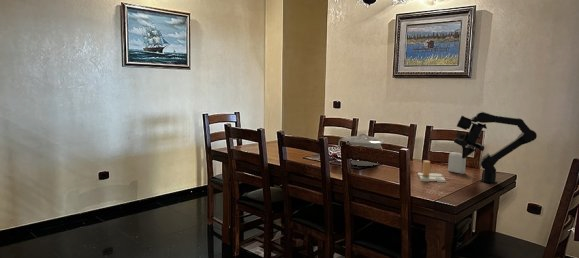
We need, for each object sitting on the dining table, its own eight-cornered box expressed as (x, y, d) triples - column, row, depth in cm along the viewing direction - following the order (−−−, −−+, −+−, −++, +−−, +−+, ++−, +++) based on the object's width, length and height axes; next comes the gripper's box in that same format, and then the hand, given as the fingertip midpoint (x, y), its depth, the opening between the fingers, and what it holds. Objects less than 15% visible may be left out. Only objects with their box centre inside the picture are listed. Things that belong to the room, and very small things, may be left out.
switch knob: (427, 176, 232) (428, 160, 231) (429, 178, 228) (430, 162, 226) (422, 175, 233) (423, 160, 231) (423, 177, 228) (424, 162, 227)
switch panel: (440, 176, 235) (440, 173, 235) (445, 182, 222) (445, 179, 222) (417, 175, 238) (417, 172, 237) (421, 181, 224) (421, 178, 224)
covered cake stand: (392, 168, 254) (393, 136, 251) (353, 170, 245) (354, 137, 243) (370, 159, 280) (371, 130, 277) (334, 161, 272) (335, 131, 269)
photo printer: (446, 171, 249) (448, 151, 247) (450, 170, 252) (451, 151, 250) (462, 174, 241) (464, 154, 240) (466, 173, 244) (467, 153, 242)
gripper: (475, 131, 235) (464, 155, 239) (452, 125, 227) (441, 150, 231) (489, 138, 225) (478, 162, 229) (467, 132, 217) (455, 157, 221)
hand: (463, 158), depth 228 cm, fingers closed
